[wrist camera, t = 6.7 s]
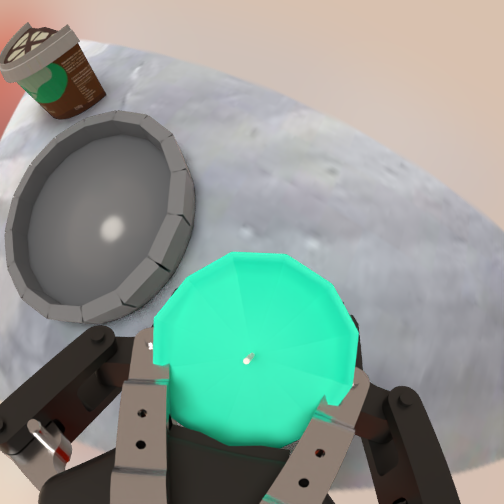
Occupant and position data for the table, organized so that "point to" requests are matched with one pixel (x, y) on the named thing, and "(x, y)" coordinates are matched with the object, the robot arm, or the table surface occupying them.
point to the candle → (254, 349)
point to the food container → (51, 70)
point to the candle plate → (100, 219)
